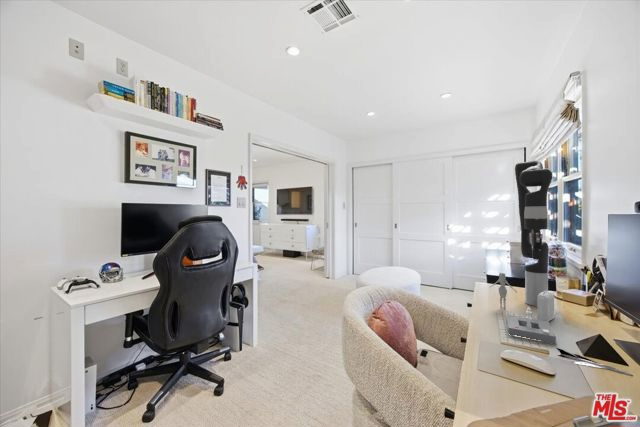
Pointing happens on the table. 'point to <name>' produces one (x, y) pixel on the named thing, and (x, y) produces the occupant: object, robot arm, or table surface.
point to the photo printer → (545, 306)
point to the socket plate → (531, 329)
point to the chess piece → (528, 317)
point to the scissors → (589, 362)
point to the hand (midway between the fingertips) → (536, 259)
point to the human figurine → (502, 288)
